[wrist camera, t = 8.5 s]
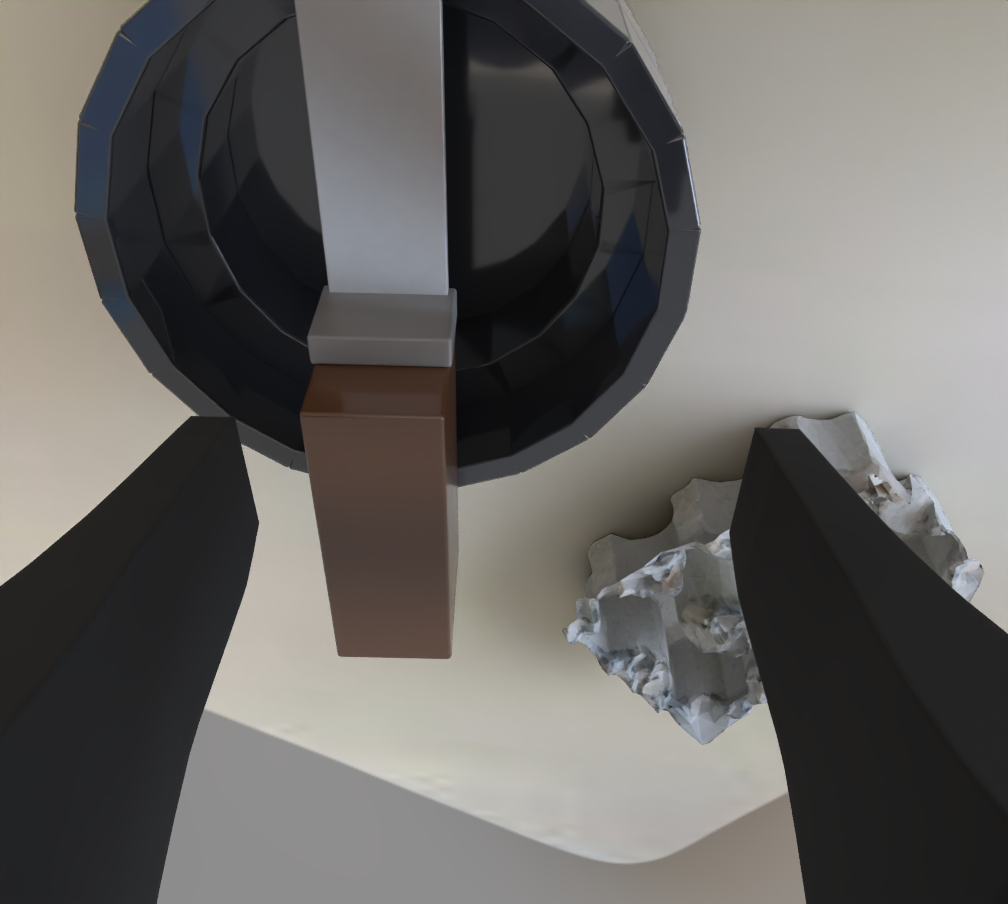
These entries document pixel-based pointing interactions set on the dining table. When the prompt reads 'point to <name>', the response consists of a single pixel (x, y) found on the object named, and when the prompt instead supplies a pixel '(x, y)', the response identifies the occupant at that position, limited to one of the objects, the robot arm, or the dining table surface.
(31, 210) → the dining table surface
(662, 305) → the bowl
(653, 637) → the egg carton
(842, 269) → the dining table surface
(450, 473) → the knife
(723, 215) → the dining table surface
